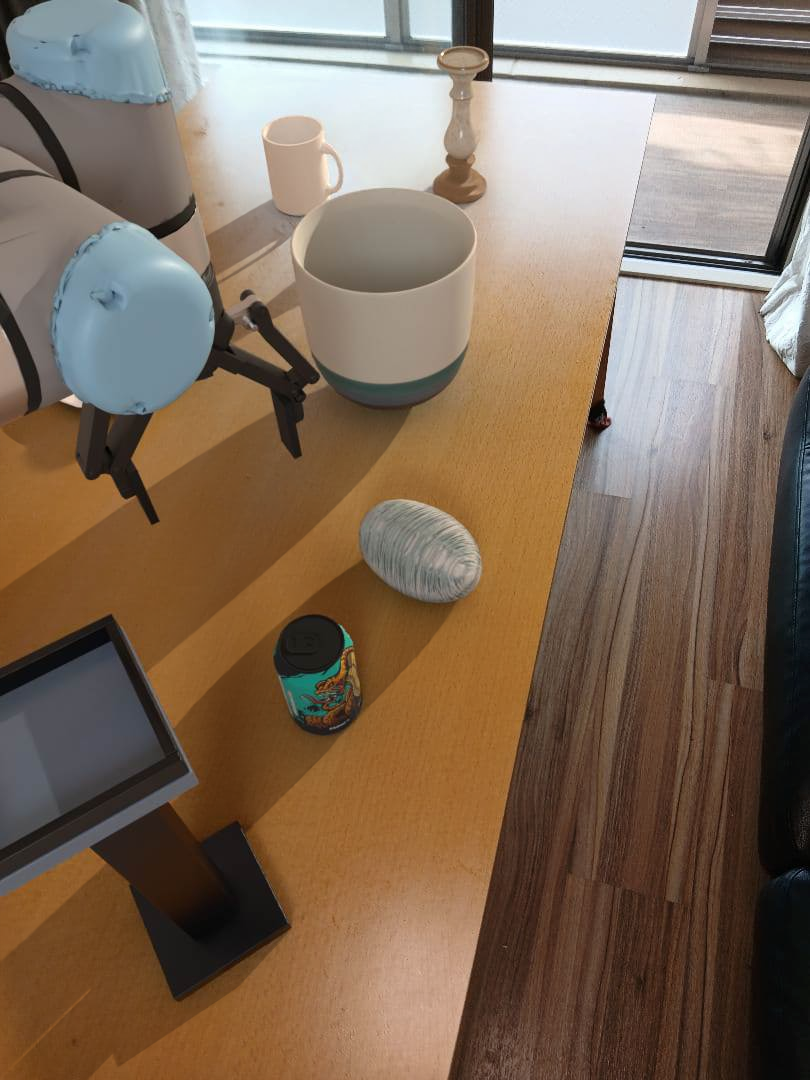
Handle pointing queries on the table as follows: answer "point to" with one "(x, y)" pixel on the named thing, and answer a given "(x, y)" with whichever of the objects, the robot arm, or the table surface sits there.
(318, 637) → the beverage can
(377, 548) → the grey streaked ellipsoid
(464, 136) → the candle holder
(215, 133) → the table surface
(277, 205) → the mug
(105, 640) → the pad stand
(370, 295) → the planter
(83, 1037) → the table surface
